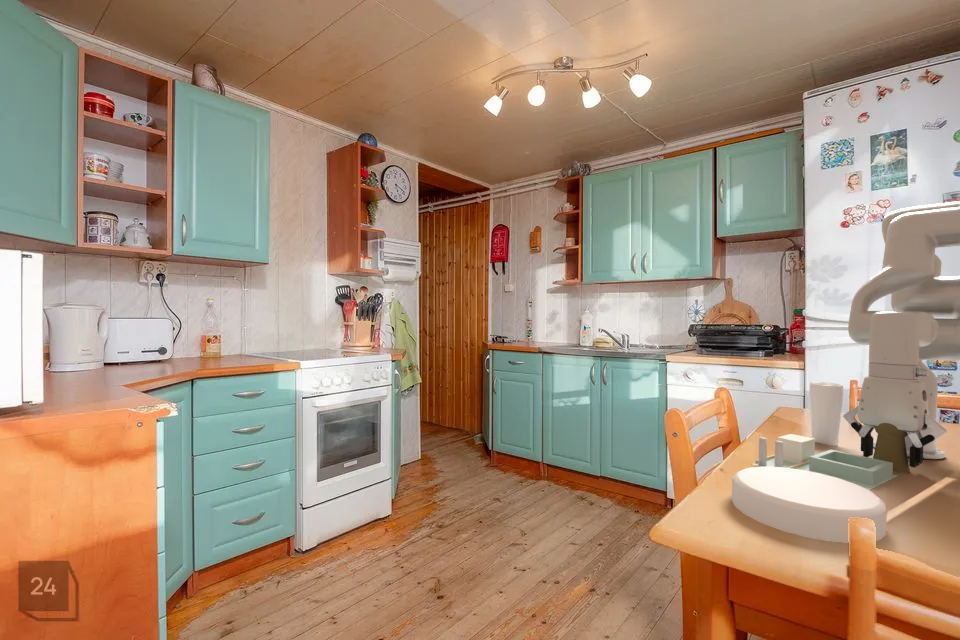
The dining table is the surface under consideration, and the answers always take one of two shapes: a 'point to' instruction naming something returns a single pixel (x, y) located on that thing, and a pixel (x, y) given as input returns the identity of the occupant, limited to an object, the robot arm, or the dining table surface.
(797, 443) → the block
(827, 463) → the base
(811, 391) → the drinking glass
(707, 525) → the dining table surface
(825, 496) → the container
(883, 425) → the olive tapered round-topped piece
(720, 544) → the dining table surface
